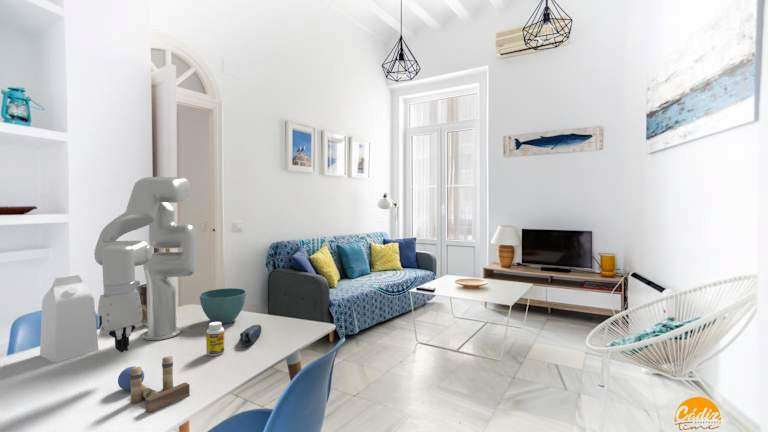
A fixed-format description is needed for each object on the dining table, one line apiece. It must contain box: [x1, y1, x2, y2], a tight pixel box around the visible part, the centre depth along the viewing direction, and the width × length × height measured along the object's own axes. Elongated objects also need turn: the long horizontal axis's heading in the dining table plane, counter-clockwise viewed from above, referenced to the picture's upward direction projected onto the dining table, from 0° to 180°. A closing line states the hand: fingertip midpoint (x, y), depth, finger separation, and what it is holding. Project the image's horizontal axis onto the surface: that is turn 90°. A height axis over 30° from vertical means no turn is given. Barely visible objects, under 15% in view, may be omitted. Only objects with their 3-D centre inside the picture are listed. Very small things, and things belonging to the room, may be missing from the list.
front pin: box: [142, 383, 159, 399], centre depth 100 cm, size 3×3×8 cm
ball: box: [117, 366, 145, 391], centre depth 105 cm, size 6×6×6 cm
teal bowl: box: [199, 287, 247, 325], centre depth 164 cm, size 18×18×12 cm
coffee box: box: [136, 283, 148, 326], centre depth 161 cm, size 9×6×16 cm
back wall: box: [144, 382, 191, 414], centre depth 98 cm, size 2×10×3 cm, turn 148°
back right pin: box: [130, 366, 143, 405], centre depth 98 cm, size 3×3×8 cm
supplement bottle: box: [205, 321, 225, 357], centre depth 130 cm, size 6×6×10 cm
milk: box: [39, 274, 99, 363], centre depth 130 cm, size 12×12×26 cm
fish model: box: [239, 324, 262, 347], centre depth 144 cm, size 7×21×5 cm, turn 8°
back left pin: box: [161, 356, 174, 391], centre depth 105 cm, size 3×3×8 cm
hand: (122, 350), depth 112 cm, fingers closed
